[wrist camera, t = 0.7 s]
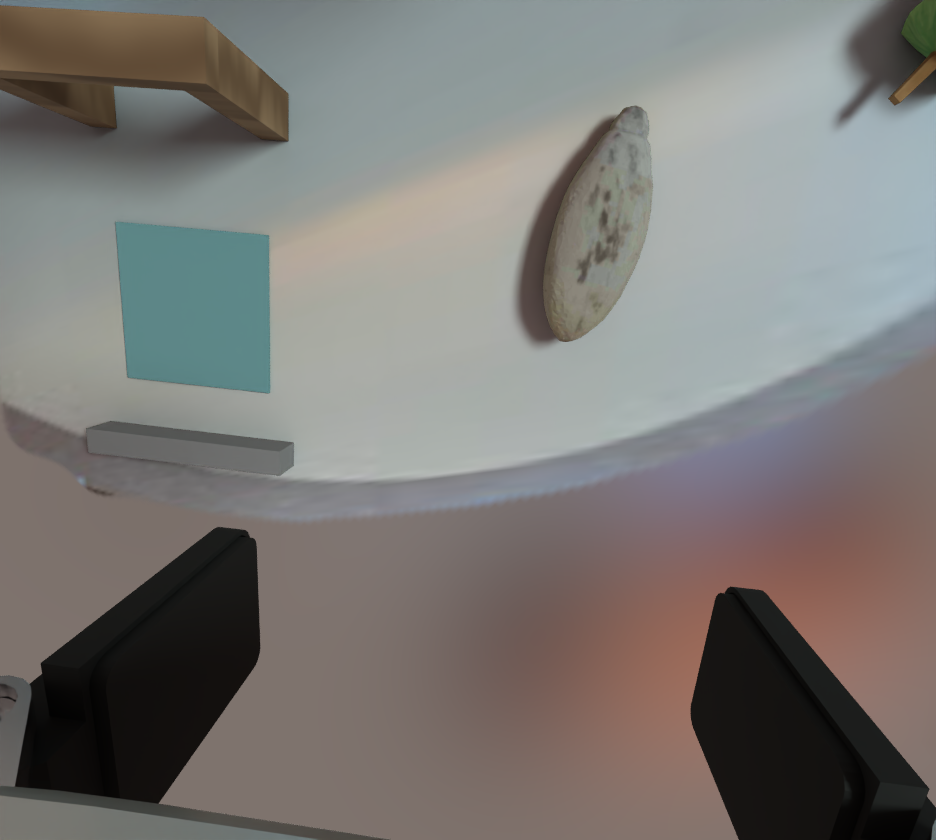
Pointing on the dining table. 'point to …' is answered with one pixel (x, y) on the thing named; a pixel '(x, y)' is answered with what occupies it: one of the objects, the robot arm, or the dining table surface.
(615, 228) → the decorative stone
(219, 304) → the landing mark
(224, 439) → the stopper rail
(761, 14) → the dining table surface
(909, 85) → the skewer
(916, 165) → the dining table surface
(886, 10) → the dining table surface
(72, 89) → the bridge
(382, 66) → the dining table surface
